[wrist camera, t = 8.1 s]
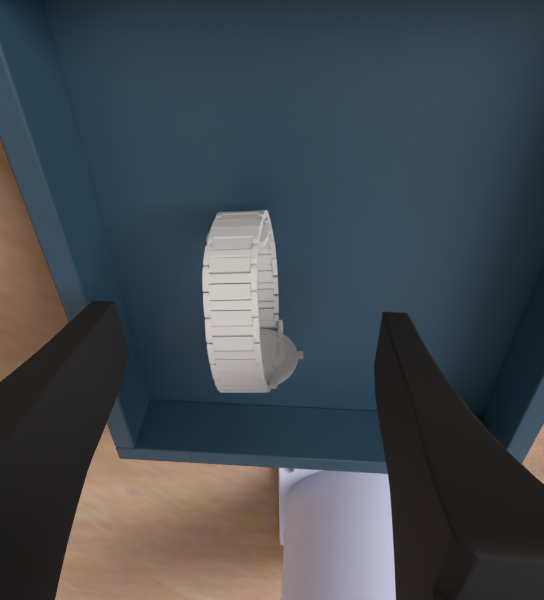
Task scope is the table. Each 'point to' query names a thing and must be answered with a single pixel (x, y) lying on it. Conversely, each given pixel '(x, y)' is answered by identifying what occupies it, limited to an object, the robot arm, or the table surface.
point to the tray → (290, 202)
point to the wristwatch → (244, 305)
